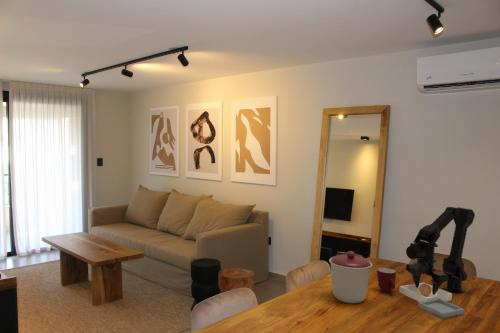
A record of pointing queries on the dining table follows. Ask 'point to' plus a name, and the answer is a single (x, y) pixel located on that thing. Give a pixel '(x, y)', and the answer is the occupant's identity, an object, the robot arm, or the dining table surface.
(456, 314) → the tray
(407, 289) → the dish
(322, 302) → the dining table surface
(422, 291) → the ball
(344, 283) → the canister
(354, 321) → the dining table surface
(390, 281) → the mug
